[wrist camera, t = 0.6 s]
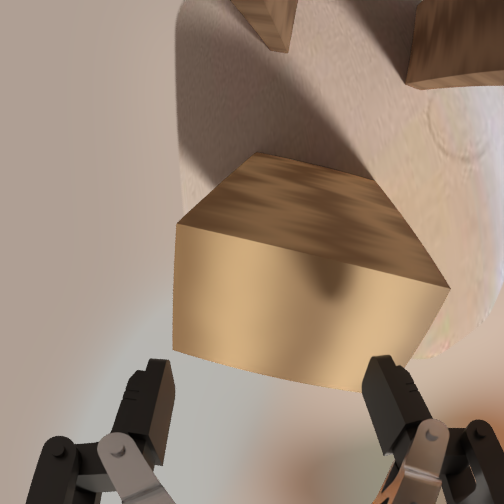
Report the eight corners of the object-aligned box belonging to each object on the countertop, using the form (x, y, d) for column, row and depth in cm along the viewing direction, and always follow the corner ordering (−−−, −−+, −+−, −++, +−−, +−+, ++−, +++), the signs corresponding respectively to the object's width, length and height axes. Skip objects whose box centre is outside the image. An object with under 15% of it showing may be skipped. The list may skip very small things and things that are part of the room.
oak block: (244, 220, 36) (172, 349, 17) (256, 151, 32) (176, 223, 13) (354, 246, 35) (384, 395, 16) (375, 180, 31) (450, 288, 12)
